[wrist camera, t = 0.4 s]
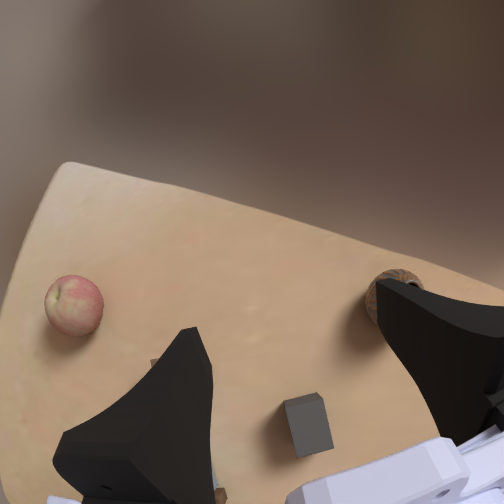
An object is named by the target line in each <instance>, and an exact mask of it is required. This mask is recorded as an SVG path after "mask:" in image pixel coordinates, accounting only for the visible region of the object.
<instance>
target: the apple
mask: <svg viewBox="0 0 504 504" xmlns="http://www.w3.org/2000/svg"><path fill="white" fill-rule="evenodd" d="M103 308H104V302H103V298H102V295H101V293H100V291H99V289H98V288H97V286H96V285H95V284H94V283H93V282H91V281H90V280H88V279H86V278H84V277H81V276H76V275H68V276H64V277H61V278H59V279H57V280H56V281H55V282H54V283H53V284H52V285H51V287H50V288H49V290H48V292H47V294H46V297H45V311H46V315H47V317H48V319H49V321H50V323H51V324H52V326H53V327H54V328H55V329H57V330H58V331H59V332H61V333H64V334H66V335H69V336H83V335H86V334H89V333H90V332H92V331H94V330H95V329H96V328H97V327H98V325H99V324H100V321H101V318H102V314H103Z"/></svg>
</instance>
